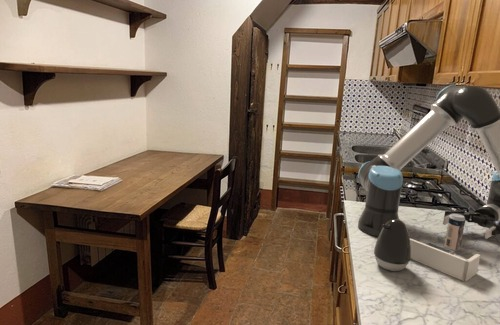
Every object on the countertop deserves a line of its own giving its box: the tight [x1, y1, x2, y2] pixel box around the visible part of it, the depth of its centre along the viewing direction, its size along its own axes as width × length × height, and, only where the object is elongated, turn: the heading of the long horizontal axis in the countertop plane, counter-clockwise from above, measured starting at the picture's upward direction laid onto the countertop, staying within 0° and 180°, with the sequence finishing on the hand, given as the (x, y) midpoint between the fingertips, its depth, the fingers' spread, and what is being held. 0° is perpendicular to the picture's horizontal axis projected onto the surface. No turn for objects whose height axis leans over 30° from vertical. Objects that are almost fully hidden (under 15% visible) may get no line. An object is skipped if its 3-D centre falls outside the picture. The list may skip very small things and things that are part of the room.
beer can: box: [443, 213, 466, 252], centre depth 121 cm, size 5×5×12 cm
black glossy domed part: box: [373, 218, 412, 272], centre depth 106 cm, size 10×10×15 cm
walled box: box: [409, 237, 481, 282], centre depth 113 cm, size 11×24×6 cm, turn 38°
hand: (464, 227), depth 124 cm, fingers open, 13 cm apart
